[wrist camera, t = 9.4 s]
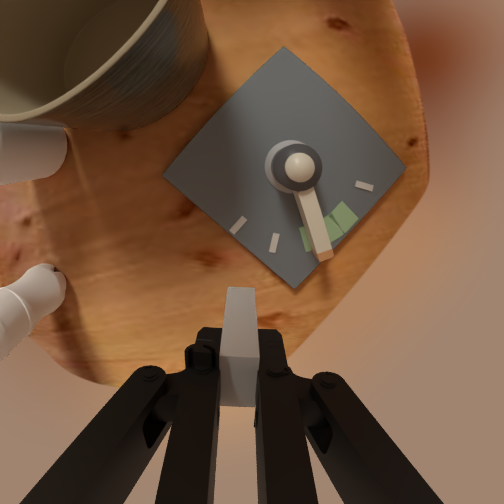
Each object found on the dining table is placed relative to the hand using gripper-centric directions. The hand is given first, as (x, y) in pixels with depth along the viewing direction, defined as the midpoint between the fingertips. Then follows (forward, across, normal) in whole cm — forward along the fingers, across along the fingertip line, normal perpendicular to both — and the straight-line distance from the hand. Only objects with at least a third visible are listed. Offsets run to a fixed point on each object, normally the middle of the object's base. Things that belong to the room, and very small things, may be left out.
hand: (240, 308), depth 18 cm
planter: (+23, -16, +22) cm, 36 cm away
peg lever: (+21, +7, +4) cm, 22 cm away
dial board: (+22, +5, +8) cm, 24 cm away
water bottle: (+22, -29, -10) cm, 38 cm away
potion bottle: (+22, -28, +10) cm, 38 cm away
